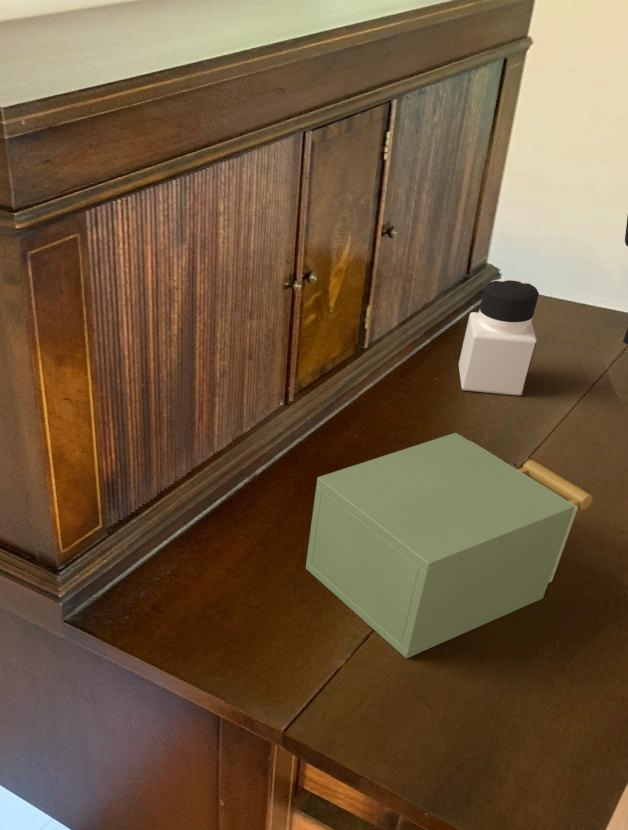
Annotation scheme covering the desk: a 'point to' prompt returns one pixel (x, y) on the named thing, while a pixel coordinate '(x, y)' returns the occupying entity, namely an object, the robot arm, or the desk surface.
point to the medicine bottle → (500, 339)
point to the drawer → (559, 488)
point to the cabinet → (434, 540)
